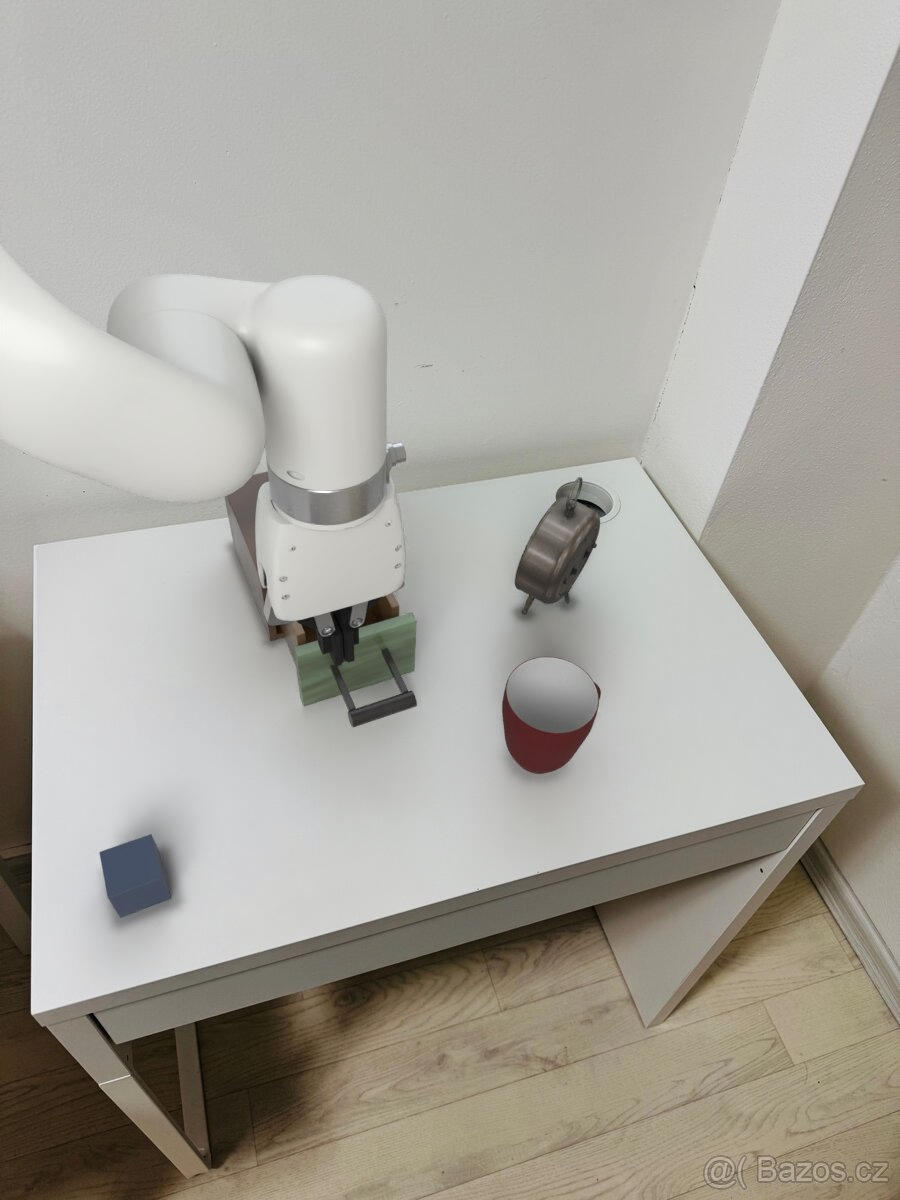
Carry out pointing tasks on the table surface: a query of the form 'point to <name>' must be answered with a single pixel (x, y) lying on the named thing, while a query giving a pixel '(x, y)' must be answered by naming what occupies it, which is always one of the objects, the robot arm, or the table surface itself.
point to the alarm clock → (557, 550)
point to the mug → (548, 712)
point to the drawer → (359, 662)
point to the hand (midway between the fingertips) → (338, 650)
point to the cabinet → (249, 541)
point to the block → (134, 875)
